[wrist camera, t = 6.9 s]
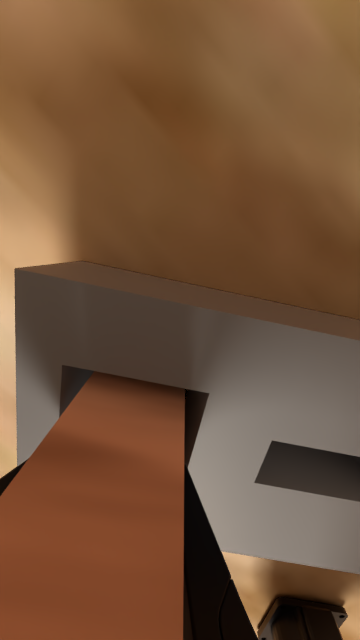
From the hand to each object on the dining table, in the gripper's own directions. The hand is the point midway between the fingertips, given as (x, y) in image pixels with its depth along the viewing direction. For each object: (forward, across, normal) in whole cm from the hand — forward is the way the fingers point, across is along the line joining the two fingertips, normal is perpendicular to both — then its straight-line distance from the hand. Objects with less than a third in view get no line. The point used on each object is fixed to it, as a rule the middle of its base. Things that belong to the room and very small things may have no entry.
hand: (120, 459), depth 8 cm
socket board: (+6, -4, 0) cm, 8 cm away
